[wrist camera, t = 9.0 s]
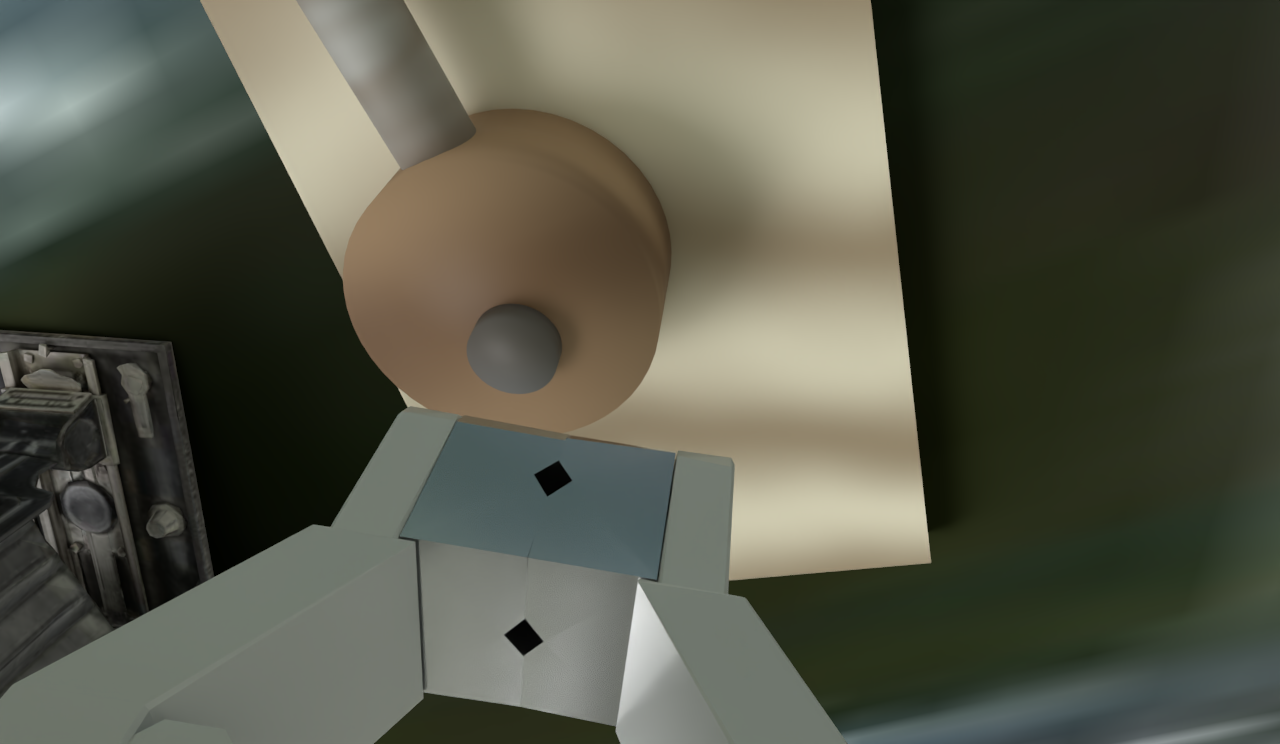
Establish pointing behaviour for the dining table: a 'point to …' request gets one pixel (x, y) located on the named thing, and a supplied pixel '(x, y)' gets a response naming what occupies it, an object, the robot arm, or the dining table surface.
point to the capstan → (494, 242)
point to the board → (687, 230)
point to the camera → (90, 493)
